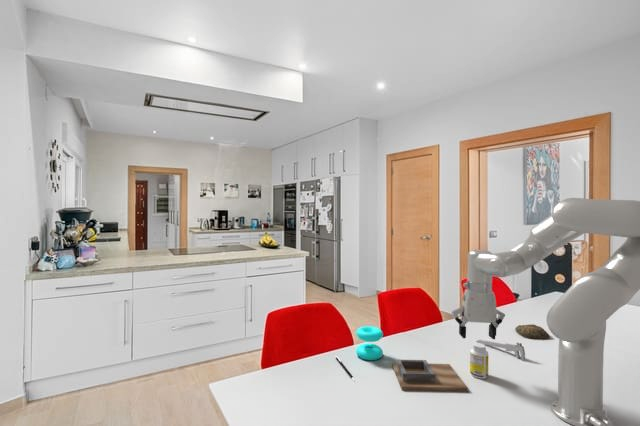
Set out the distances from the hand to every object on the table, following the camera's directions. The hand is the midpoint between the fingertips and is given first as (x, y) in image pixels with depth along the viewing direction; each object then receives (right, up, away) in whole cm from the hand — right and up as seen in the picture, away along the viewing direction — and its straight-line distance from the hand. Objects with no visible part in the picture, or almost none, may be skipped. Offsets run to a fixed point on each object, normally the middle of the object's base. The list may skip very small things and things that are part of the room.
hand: (477, 337), depth 113 cm
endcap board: (-18, -13, -3) cm, 22 cm away
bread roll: (+42, -13, +38) cm, 58 cm away
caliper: (+18, -13, +20) cm, 30 cm away
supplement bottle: (0, -13, -1) cm, 13 cm away
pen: (-45, -13, +4) cm, 47 cm away
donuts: (-34, -13, +14) cm, 39 cm away
